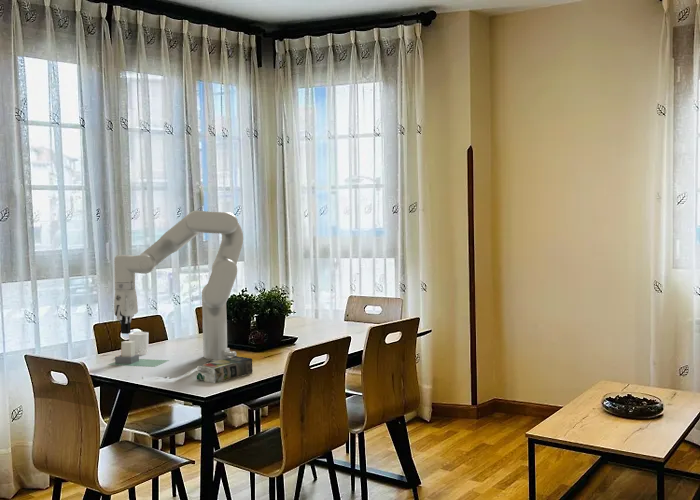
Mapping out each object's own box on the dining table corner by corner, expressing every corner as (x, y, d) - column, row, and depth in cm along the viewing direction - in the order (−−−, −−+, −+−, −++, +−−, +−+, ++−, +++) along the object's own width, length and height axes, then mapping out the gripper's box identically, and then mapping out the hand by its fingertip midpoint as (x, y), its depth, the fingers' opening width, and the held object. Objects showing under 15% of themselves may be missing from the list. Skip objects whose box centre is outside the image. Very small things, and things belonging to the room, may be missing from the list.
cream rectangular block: (135, 361, 275) (134, 341, 275) (131, 363, 272) (130, 342, 272) (125, 361, 276) (125, 340, 276) (121, 362, 273) (120, 342, 273)
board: (169, 364, 277) (169, 354, 276) (154, 370, 265) (154, 360, 265) (124, 362, 281) (123, 352, 281) (107, 368, 270) (107, 358, 269)
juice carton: (213, 384, 243) (212, 367, 243) (194, 381, 249) (193, 364, 249) (253, 374, 259) (253, 357, 259) (234, 371, 265) (234, 355, 265)
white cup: (143, 359, 286) (142, 335, 286) (125, 358, 288) (125, 334, 287) (152, 355, 294) (151, 332, 293) (135, 355, 295) (134, 331, 295)
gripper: (123, 288, 264) (124, 336, 265) (143, 284, 279) (144, 330, 280) (105, 288, 266) (106, 336, 267) (126, 284, 281) (127, 330, 282)
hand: (125, 333), depth 273 cm, fingers closed
